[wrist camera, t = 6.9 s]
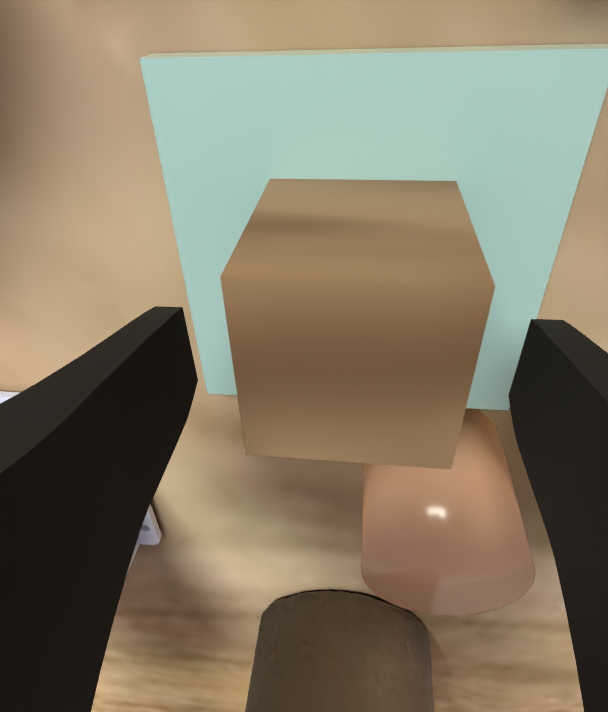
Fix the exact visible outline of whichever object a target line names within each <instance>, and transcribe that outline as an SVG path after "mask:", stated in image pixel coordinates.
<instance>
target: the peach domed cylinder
mask: <svg viewBox="0 0 608 712" xmlns="http://www.w3.org/2000/svg"><path fill="white" fill-rule="evenodd" d="M361 568H362V576H363V579H364V581H365V583H366V584H367V586H368V587H369V588H370V589H371V590H372V591H373V592H374V593H375V594H376V595H378V596H379V597H381V598H382V599H384V600H386V601H387V602H389V603H392V604H394V605H396V606H399V607H402V608H404V609H408V610H412V611H415V612H420V613H426V614H433V615H469V614H477V613H482V612H487V611H491V610H495V609H498V608H500V607H503V606H506V605H508V604H510V603H512V602H514V601H515V600H517V599H519V598H520V597H521V596H522V595H524V594H525V593H526V592H527V591H528V590H529V588H530V587H531V585H532V584H533V581H534V578H535V567H534V563H533V559H532V555H531V551H530V548H529V544H528V540H527V536H526V533H525V529H524V525H523V521H522V517H521V514H520V510H519V506H518V502H517V498H516V495H515V491H514V487H513V483H512V479H511V476H510V472H509V468H508V464H507V460H506V457H505V453H504V449H503V445H502V441H501V438H500V434H499V432H498V430H497V428H496V427H495V425H494V424H493V423H492V421H491V420H490V419H489V418H488V417H486V416H485V415H484V414H482V413H481V412H479V411H477V410H476V409H472V408H466V410H465V414H464V418H463V423H462V427H461V431H460V435H459V439H458V443H457V448H456V452H455V456H454V460H453V464H452V468H451V470H450V469H437V468H423V467H409V466H396V465H382V464H368V463H364V489H363V528H362V567H361Z"/></svg>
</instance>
